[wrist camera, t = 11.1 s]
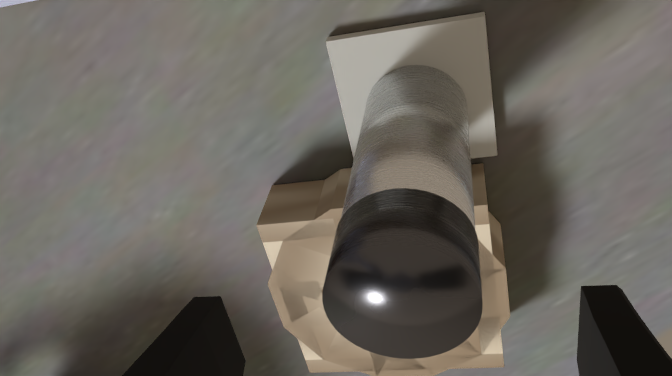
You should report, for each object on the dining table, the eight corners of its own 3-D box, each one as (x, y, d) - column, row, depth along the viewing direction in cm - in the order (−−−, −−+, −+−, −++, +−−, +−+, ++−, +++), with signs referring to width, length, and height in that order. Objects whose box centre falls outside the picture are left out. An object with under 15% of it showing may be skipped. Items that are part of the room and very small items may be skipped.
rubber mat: (327, 36, 20) (325, 41, 20) (484, 11, 19) (485, 16, 19) (357, 164, 23) (356, 171, 23) (496, 149, 22) (497, 155, 21)
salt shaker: (365, 154, 22) (328, 353, 15) (362, 63, 20) (315, 240, 13) (466, 157, 22) (476, 364, 14) (472, 63, 20) (488, 248, 12)
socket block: (259, 177, 24) (242, 217, 22) (493, 152, 22) (499, 193, 20) (313, 334, 29) (303, 378, 27) (510, 326, 27) (515, 373, 24)
